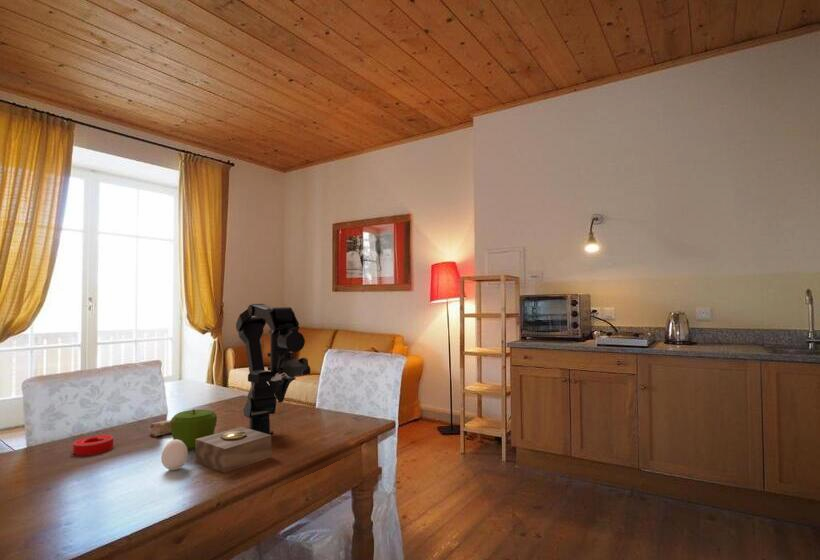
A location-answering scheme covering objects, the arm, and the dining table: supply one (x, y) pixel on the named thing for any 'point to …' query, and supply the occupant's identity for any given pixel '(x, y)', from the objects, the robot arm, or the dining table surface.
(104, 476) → the dining table surface
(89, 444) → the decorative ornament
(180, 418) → the apple
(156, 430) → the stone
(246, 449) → the socket block
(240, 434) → the peg
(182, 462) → the egg
